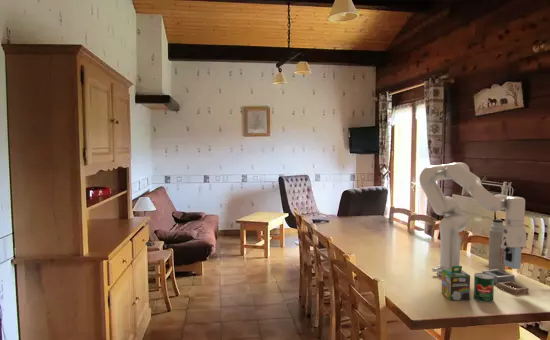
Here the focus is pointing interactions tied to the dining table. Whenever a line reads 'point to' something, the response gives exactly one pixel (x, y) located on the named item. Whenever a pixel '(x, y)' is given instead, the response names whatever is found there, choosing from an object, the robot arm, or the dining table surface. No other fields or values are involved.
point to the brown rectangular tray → (515, 291)
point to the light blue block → (514, 258)
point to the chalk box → (456, 284)
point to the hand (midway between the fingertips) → (512, 260)
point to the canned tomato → (483, 287)
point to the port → (500, 275)
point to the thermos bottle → (496, 246)
